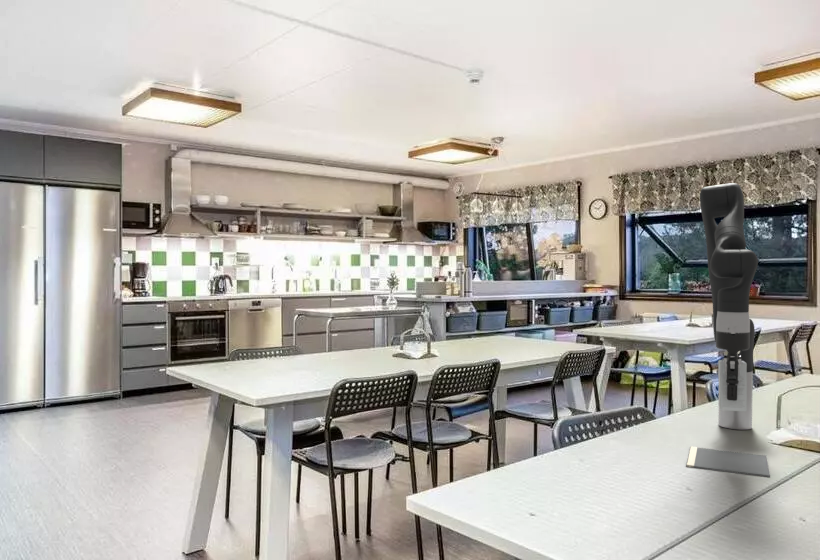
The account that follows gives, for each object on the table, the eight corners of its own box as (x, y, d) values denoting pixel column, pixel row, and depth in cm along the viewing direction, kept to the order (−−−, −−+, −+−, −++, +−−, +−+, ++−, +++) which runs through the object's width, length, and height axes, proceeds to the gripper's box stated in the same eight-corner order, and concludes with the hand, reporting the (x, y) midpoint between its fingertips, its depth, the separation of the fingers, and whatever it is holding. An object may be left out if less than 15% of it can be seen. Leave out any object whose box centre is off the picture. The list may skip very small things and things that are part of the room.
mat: (690, 448, 175) (690, 446, 175) (766, 456, 168) (766, 454, 167) (685, 466, 159) (685, 464, 159) (770, 477, 151) (770, 474, 151)
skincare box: (744, 408, 164) (744, 360, 164) (746, 411, 160) (747, 363, 160) (717, 406, 166) (718, 359, 166) (719, 410, 162) (720, 362, 162)
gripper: (716, 326, 170) (716, 392, 171) (715, 331, 158) (714, 402, 158) (749, 328, 167) (748, 394, 167) (750, 333, 154) (749, 405, 155)
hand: (732, 397), depth 163 cm, fingers closed on skincare box, 4 cm apart
